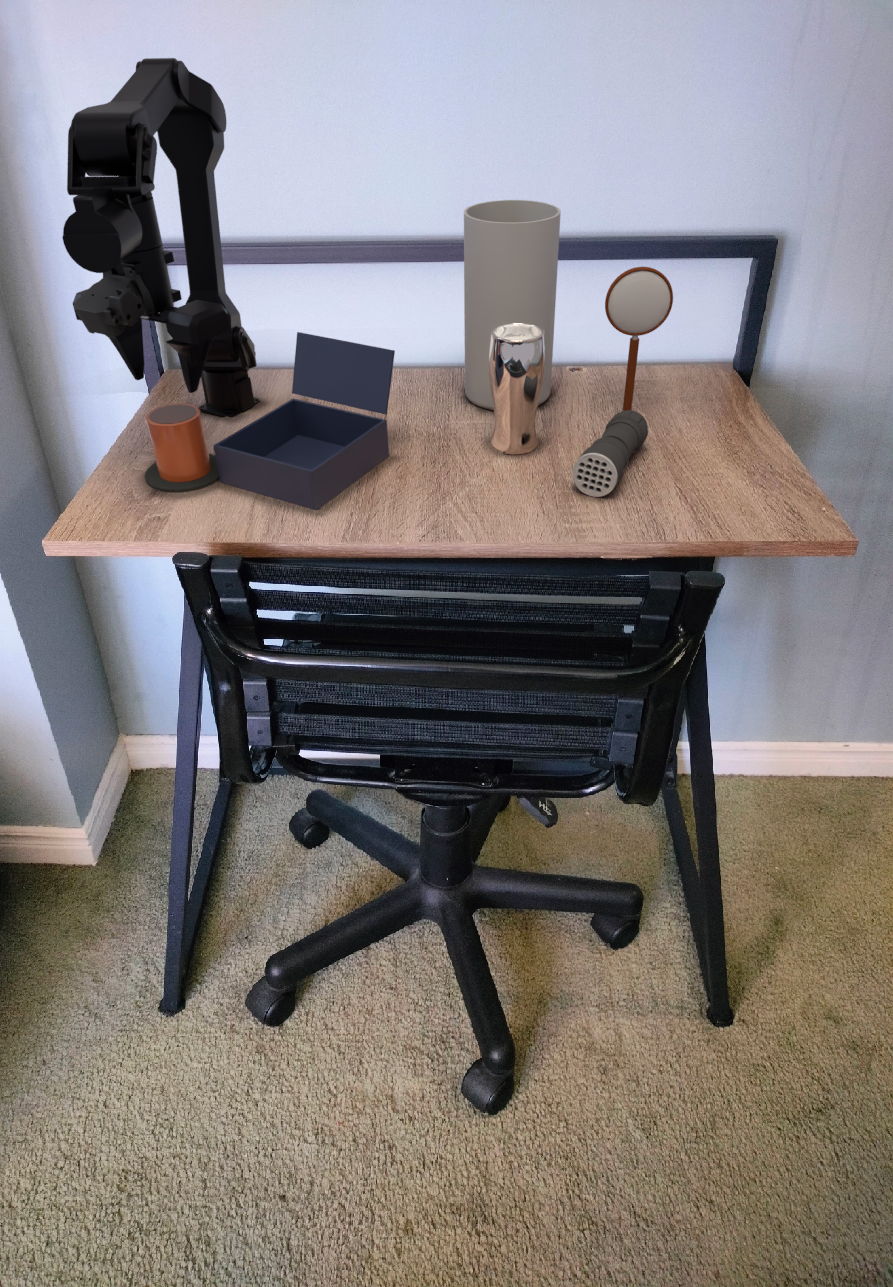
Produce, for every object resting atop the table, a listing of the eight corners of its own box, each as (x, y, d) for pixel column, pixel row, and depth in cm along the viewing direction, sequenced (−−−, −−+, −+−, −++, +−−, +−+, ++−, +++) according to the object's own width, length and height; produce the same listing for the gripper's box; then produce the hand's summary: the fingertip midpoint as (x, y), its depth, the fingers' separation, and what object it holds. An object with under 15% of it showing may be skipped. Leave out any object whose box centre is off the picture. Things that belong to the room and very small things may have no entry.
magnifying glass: (595, 419, 124) (608, 269, 112) (594, 414, 125) (607, 265, 113) (658, 419, 124) (678, 268, 111) (656, 414, 125) (676, 264, 113)
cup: (147, 475, 112) (133, 418, 107) (183, 454, 116) (171, 399, 112) (186, 486, 109) (174, 429, 105) (222, 465, 114) (211, 409, 109)
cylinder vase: (447, 398, 131) (444, 213, 115) (500, 372, 138) (504, 195, 122) (515, 421, 124) (521, 228, 109) (567, 393, 131) (579, 208, 116)
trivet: (128, 484, 112) (127, 478, 111) (184, 451, 119) (182, 446, 118) (189, 502, 108) (187, 496, 107) (242, 468, 115) (241, 462, 114)
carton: (297, 435, 122) (292, 398, 118) (389, 458, 116) (386, 419, 113) (220, 485, 111) (213, 445, 108) (317, 513, 105) (312, 471, 102)
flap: (291, 393, 118) (293, 393, 118) (385, 414, 112) (387, 414, 112) (297, 332, 115) (298, 332, 115) (393, 350, 109) (395, 350, 110)
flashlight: (608, 440, 119) (612, 402, 115) (648, 448, 117) (653, 408, 114) (570, 491, 108) (573, 450, 105) (613, 500, 106) (618, 459, 103)
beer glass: (537, 458, 115) (542, 342, 106) (484, 454, 116) (484, 339, 107) (543, 435, 120) (549, 323, 111) (492, 431, 122) (493, 320, 112)
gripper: (15, 254, 94) (57, 395, 104) (144, 277, 87) (177, 426, 97) (95, 229, 102) (128, 363, 112) (220, 249, 95) (244, 390, 104)
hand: (166, 385), depth 106 cm, fingers open, 8 cm apart
